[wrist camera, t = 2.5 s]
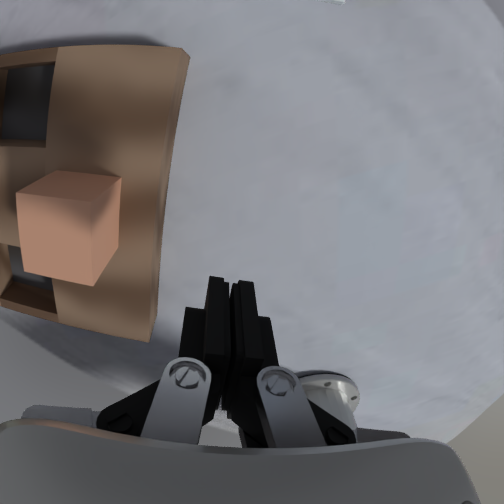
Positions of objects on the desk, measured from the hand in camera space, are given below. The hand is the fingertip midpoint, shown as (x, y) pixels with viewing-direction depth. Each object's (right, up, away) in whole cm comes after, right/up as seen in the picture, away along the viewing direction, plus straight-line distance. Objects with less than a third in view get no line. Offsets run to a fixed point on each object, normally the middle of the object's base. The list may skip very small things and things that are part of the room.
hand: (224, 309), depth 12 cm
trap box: (-17, +8, +10) cm, 21 cm away
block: (-10, +5, +7) cm, 13 cm away
